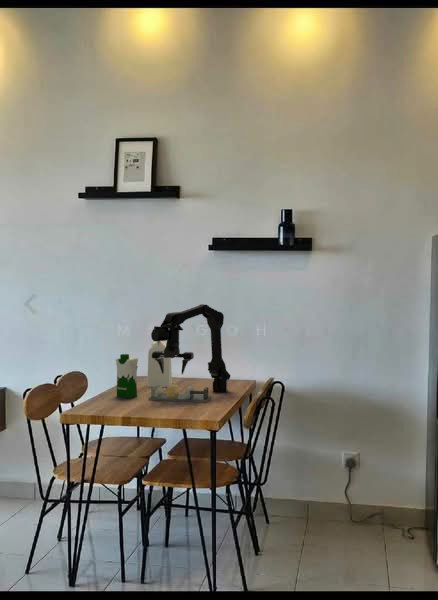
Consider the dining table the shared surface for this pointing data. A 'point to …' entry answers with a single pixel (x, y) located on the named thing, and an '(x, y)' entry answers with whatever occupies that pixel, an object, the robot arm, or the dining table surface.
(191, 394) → the jaw
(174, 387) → the block
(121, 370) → the milk carton
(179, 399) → the vise
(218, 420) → the dining table surface
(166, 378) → the milk
